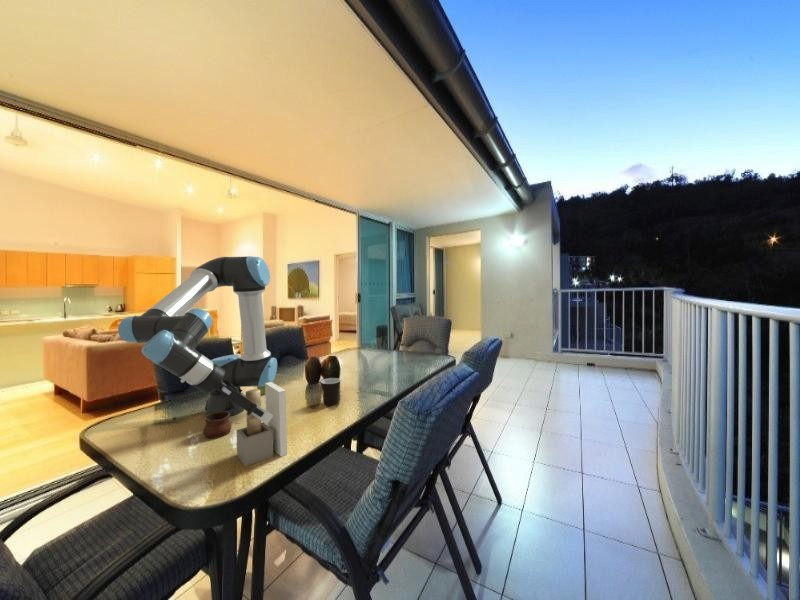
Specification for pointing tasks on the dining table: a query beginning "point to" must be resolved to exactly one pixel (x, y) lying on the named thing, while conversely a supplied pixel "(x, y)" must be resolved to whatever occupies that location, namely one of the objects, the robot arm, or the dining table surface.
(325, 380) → the coffee mug
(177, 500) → the dining table surface
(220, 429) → the ceramic pot
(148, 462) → the dining table surface
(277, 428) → the cup bracket
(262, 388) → the plant pot
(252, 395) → the oak rail
